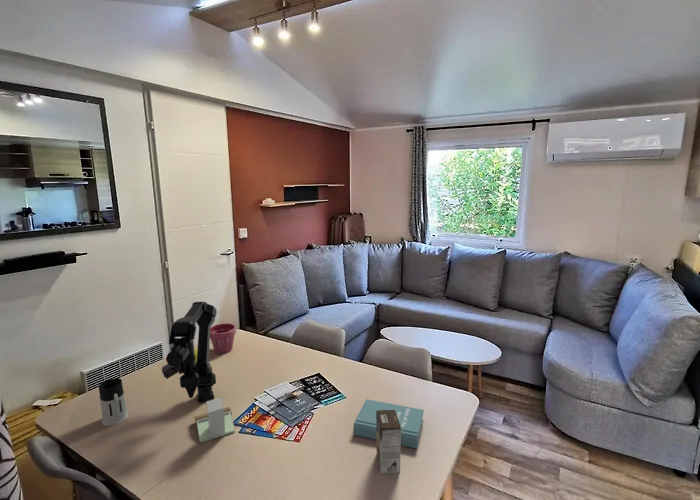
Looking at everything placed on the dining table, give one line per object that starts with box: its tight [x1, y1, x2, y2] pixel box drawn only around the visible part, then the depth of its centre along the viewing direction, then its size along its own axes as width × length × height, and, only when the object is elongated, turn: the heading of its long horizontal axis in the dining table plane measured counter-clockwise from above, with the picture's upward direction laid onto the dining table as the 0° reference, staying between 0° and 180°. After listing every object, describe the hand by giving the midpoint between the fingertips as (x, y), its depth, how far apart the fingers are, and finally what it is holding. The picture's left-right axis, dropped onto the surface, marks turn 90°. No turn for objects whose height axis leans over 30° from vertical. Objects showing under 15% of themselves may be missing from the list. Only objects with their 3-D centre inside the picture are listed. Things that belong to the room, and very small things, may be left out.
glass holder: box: [98, 377, 129, 427], centre depth 140 cm, size 9×14×15 cm, turn 44°
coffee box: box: [376, 410, 402, 475], centre depth 117 cm, size 9×6×16 cm
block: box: [205, 397, 225, 440], centre depth 130 cm, size 5×5×13 cm
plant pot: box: [210, 322, 237, 355], centre depth 199 cm, size 14×14×13 cm
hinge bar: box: [194, 406, 233, 429], centre depth 141 cm, size 4×13×2 cm, turn 118°
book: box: [352, 398, 425, 450], centre depth 135 cm, size 23×16×5 cm
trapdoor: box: [197, 411, 236, 443], centre depth 135 cm, size 9×12×1 cm
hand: (190, 391), depth 139 cm, fingers open, 9 cm apart
